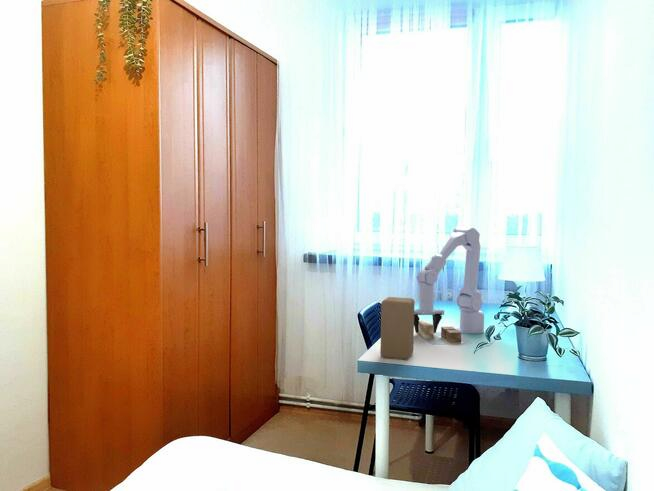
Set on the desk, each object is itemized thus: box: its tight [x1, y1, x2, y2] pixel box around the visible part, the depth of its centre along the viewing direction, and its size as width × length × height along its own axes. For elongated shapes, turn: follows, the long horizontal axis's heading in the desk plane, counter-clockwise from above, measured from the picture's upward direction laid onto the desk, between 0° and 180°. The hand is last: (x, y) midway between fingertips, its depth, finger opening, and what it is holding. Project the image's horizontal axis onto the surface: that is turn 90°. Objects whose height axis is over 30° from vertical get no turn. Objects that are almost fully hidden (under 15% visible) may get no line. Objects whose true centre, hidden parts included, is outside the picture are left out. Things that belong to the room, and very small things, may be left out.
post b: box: [446, 329, 462, 343], centre depth 220 cm, size 4×4×4 cm
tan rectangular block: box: [417, 320, 434, 340], centre depth 229 cm, size 4×10×5 cm, turn 7°
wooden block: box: [380, 296, 415, 361], centre depth 198 cm, size 10×10×20 cm
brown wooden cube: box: [440, 326, 457, 339], centre depth 226 cm, size 4×4×4 cm
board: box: [417, 331, 473, 346], centre depth 226 cm, size 16×20×1 cm
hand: (425, 332), depth 229 cm, fingers open, 7 cm apart
